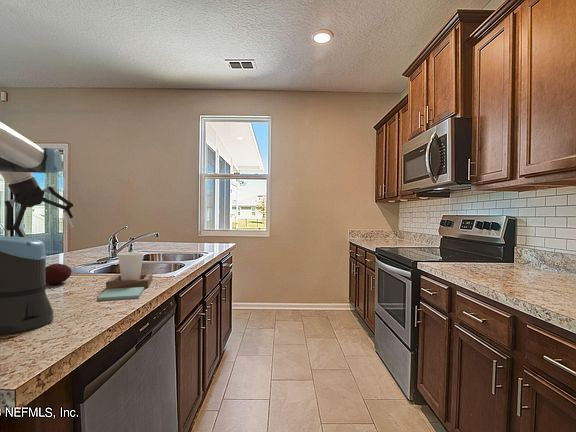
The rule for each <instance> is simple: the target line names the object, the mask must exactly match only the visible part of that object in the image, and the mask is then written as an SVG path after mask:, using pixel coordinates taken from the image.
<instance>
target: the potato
mask: <svg viewBox="0 0 576 432" xmlns="http://www.w3.org/2000/svg"><path fill="white" fill-rule="evenodd" d="M71 275H72V268H71V267H70V266H68V264H67V265H66V264H63V263H53V264H49V265H46V284H45V285H57V284H58V285H59V284H61V283H64V282H65V281H67V280H68V279H69V278H70V277H71Z"/></svg>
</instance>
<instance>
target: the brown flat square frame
mask: <svg viewBox="0 0 576 432" xmlns="http://www.w3.org/2000/svg"><path fill="white" fill-rule="evenodd" d="M153 275H154V274H153V272H151V273H150V272H148V273H141V274H140V280H121V274H115V275H112V277H110V278H109V279H108V280H107V281H106V282H105V290H106V289H116V288H135V287H144V289H147V288H149V287H150V285H151V283H152V282H153V280H154V279H153V278H154V277H153Z"/></svg>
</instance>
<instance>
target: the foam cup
mask: <svg viewBox="0 0 576 432" xmlns="http://www.w3.org/2000/svg"><path fill="white" fill-rule="evenodd" d="M117 260H118V265H119V271H120V275H121V280H140V274H142V266H143V260H144V252H141V251H129V252H128V251H127V252H118V254H117Z"/></svg>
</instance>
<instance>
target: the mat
mask: <svg viewBox="0 0 576 432" xmlns="http://www.w3.org/2000/svg"><path fill="white" fill-rule="evenodd" d="M144 291H145V288H144V287H135V288H116V289H106V288H105V290H104V291H103V292H102V293H101V294H100V295H98V296H97V298H96V300H97V302H98V301H99V302H101V301H115V300H117V301H118V300H129V299H132V300H133V299H140V297H141V295H142V294H143V292H144Z"/></svg>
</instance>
